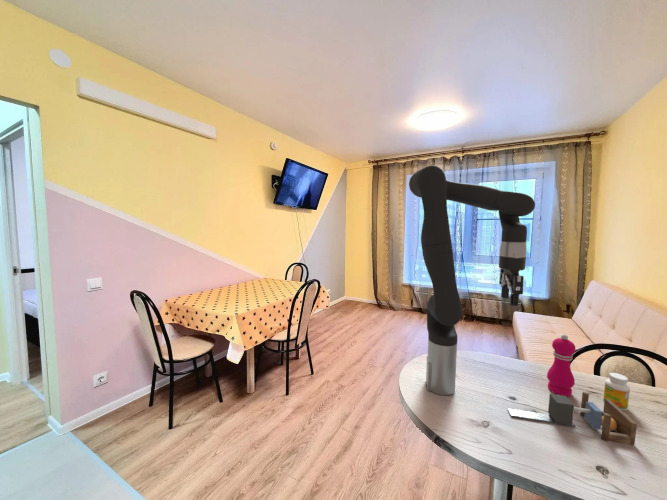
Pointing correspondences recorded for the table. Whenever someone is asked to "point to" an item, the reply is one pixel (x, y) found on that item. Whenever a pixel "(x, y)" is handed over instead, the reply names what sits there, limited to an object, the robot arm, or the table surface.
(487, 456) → the table surface
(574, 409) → the rod
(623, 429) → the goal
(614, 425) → the ball
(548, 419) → the rail
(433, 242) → the robot arm
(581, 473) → the table surface
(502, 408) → the table surface
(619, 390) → the supplement bottle
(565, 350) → the pepper mill
